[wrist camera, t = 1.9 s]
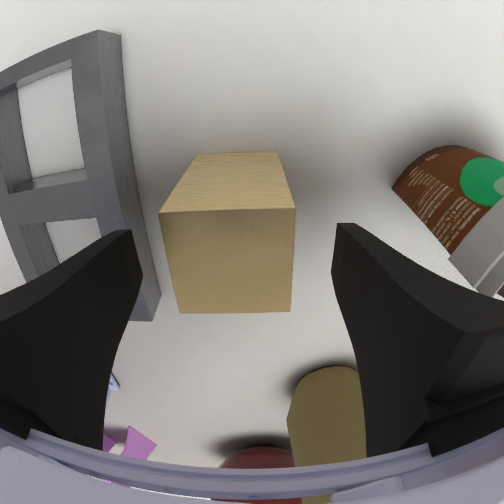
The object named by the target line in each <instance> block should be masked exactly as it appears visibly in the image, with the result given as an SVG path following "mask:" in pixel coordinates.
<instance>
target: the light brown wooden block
mask: <svg viewBox="0 0 504 504" xmlns="http://www.w3.org/2000/svg"><path fill="white" fill-rule="evenodd" d="M159 219H160V224H161V230H162V235H163V240H164V245H165V250H166V255H167V260H168V264H169V269H170V274H171V278H172V282H173V287H174V291H175V295H176V300H177V304H178V308H179V312H180V313H262V312H290V305H291V289H292V273H293V254H294V233H295V205H294V202H293V199H292V195H291V192H290V189H289V186H288V183H287V180H286V177H285V174H284V171H283V168H282V165H281V162H280V159H279V156H278V153H277V152H236V153H216V154H200V155H196V157H195V158H194V160H193V161H192V163H191V164H190V166H189V167H188V168H187V170H186V171H185V173H184V174H183V176H182V177H181V179H180V180H179V182H178V183H177V185H176V186H175V188H174V189H173V191H172V192H171V194H170V196H169V197H168V199H167V200H166V202H165V203H164V205H163V206H162V208H161V210H160V211H159Z"/></svg>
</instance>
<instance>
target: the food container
mask: <svg viewBox="0 0 504 504" xmlns="http://www.w3.org/2000/svg"><path fill="white" fill-rule="evenodd" d="M392 190H393V191H394V192H395V193H396V194H397V195H398V196H399V197H400V198H401V199H402V200H403V201H404V202H405V203H406V204H407V205H408V206H409V208H410V209H411V210H412V211H413V212H414V213H415V214H416V215H417V216H418V217H419V219H420V220H421V221H422V222H423V223H424V224H425V225H426V226H427V228H428V229H429V230H430V231H431V232H432V233H433V234H434V236H435V237H436V238H437V239H438V240H439V242H440V243H441V244H442V245H443V246H444V248H445V249H446V250H447V251H448V253H449V254H450V255H451V256H450V257H449V259H448V260H449V261H450V262H451V263H452V264H453V265H454V266H455V267H456V269H457V270H458V271H459V272H460V273H461V274H462V275H463V276H464V278H465V279H466V280H467V281H468V282H469V283H470V285H471V286H472V287H473V288H475V289H476V290H477V291H478V292H479V293H480V294H483V295H486V296H489V297H492V298H493V297H494V295H495V294H496V293H497V294H499V295H500V296H502V297H504V162H501V161H499V160H497V159H494V158H492V157H489V156H487V155H484V154H481V153H479V152H476V151H473V150H471V149H468V148H465V147H461V146H456V145H454V146H443V147H438V148H435V149H433V150H431V151H428V152H426V153H425V154H423V155H422V156H420V157H419V158H417V159H416V160H415V161H414V162H413V163H411V164H410V165H409V166H408V167H407V168H406V169H405V171H404V172H403V173H402V174H401V175H400V176H399V178H398V179H397V181H396V183H395V184H394V186H393V187H392Z"/></svg>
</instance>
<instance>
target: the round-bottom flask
mask: <svg viewBox="0 0 504 504" xmlns="http://www.w3.org/2000/svg"><path fill="white" fill-rule="evenodd" d="M292 467H295V463H294V458H293V453H291V452H289V451H286V450H284V449H281V448H277V447H271V446H257V447H251V448H247V449H243V450H241V451H238V452H236V453H234V454H233V455H231V456H230V457H228V458H227V459H226V460H225V461H224V462H223V463H222V464H221V465H220V466H219V467H218V468H227V469H273V468H292ZM211 500H212V501H223V502H236V503H248V504H302V500H301V498H288V499H264V500H240V499H216V498H211Z"/></svg>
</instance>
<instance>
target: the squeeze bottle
mask: <svg viewBox="0 0 504 504" xmlns="http://www.w3.org/2000/svg"><path fill="white" fill-rule="evenodd" d="M286 420H287V427H288V432H289V437H290V442H291V448H292V453H293V458H294V463H295V467H305V466H315V465H324V464H332V463H339V462H346V461H352V460H358V459H363V458H366V431H365V419H364V409H363V400H362V393H361V385H360V379H359V374H358V372H357V371H356V370H354V369H352V368H349V367H343V366H333V367H326V368H322V369H319V370H316V371H314V372H311V373H309V374H308V375H306V376H305V377H303V378H302V379H301V380H300V381H299V383H298V384H297V386H296V388H295V392H294V396H293V399H292V402H291V406H290V409H289V412H288V416H287V419H286ZM332 495H333V494H328V495H320V496H311V497H301V500H302V504H328V503H330V502H331V500H330V497H331V496H332Z"/></svg>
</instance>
